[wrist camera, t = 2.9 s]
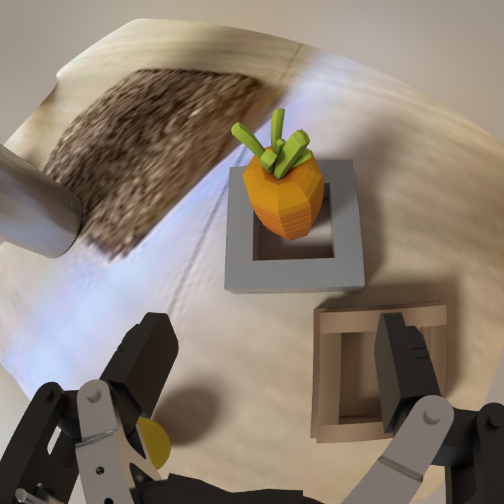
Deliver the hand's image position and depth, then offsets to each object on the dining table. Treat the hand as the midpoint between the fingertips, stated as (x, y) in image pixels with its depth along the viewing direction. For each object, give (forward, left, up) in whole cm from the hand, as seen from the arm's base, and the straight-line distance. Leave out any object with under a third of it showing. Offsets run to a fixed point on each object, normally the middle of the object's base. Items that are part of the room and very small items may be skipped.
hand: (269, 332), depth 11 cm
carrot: (0, +9, -15) cm, 18 cm away
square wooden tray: (+7, -4, -15) cm, 17 cm away
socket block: (0, +9, -15) cm, 17 cm away
